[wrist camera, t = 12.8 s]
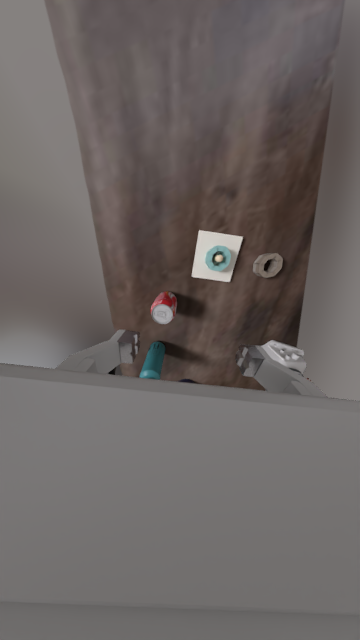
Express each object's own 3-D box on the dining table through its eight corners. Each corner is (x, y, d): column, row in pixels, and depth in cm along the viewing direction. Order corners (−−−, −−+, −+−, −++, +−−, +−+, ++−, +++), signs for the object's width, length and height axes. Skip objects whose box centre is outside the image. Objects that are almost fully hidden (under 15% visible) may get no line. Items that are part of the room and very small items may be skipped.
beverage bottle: (162, 337, 51) (151, 380, 33) (168, 349, 54) (161, 395, 36) (147, 341, 52) (129, 385, 34) (154, 353, 55) (141, 400, 37)
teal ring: (228, 248, 36) (233, 247, 33) (222, 271, 38) (226, 272, 35) (208, 245, 36) (210, 244, 32) (203, 268, 38) (205, 269, 35)
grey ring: (274, 251, 37) (283, 251, 34) (273, 273, 40) (280, 274, 36) (253, 256, 38) (259, 256, 34) (252, 277, 40) (258, 279, 37)
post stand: (241, 237, 36) (252, 234, 30) (228, 281, 41) (235, 285, 35) (198, 231, 35) (201, 226, 30) (191, 276, 40) (192, 279, 35)
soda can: (176, 310, 46) (174, 327, 35) (156, 308, 46) (148, 324, 35) (178, 291, 43) (176, 303, 32) (157, 289, 43) (148, 300, 32)
